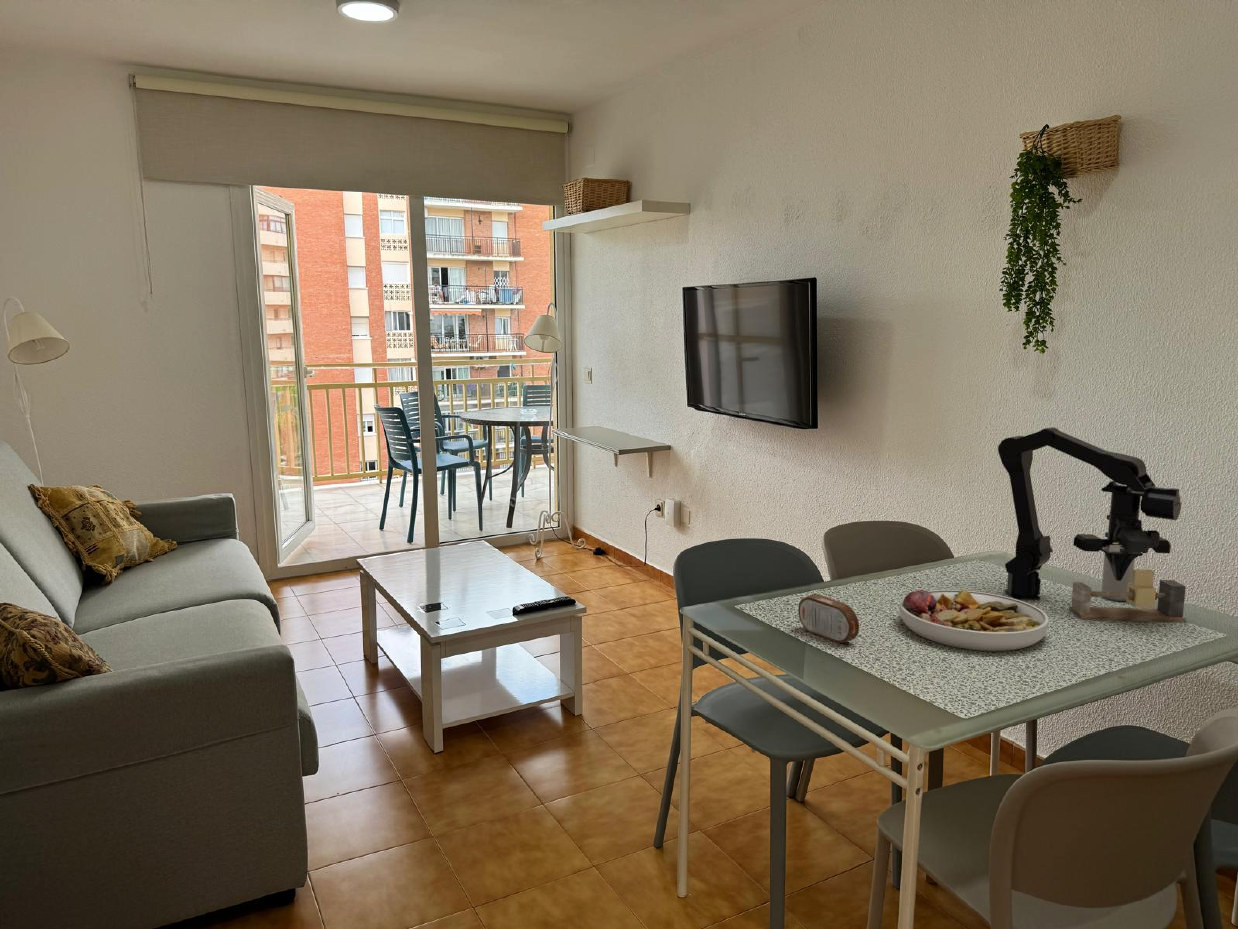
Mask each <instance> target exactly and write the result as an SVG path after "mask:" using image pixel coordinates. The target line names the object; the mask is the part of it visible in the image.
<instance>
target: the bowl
mask: <svg viewBox="0 0 1238 929" xmlns="http://www.w3.org/2000/svg"><path fill="white" fill-rule="evenodd" d="M899 601H900V602H899V614H900V617H901V619H902V621H903V623H904V624H905V625H906V627H908V629H910V630H911V631H912V632H913V633H915V634H916V635H919V636H920V637H921V638H924V639H927V640H929V641H933V642H934V643H938V644H940V645H945V646H949V647H953V648H959V649H964V650H965V649H966V650H972V651H973V650H974V651H985V652H1005V651H1006V652H1007V651H1013V650H1015V651H1016V650H1019V649H1024V648H1027V647H1030V646H1033V645H1035V644H1036V643H1038V642H1040V640H1042V639H1043V638H1044V636H1045V635H1046V634H1047V631H1048V629H1049V623H1050V618H1049V616H1048V614H1047V613H1046V612H1045V611H1044V610H1042V609H1041V608H1038V607H1037V606H1035V605H1033V604H1030V603H1028V602H1026V601H1023V600H1021V599H1014V598H1012V597H1010V596H1009V597H1008V596H1005V595H1001V594H995V593H989V592H983V591H974V590H973V591H972V590H965V589H935V590H934V589H932V590H926V589H925V590H924V589H918V590H916V591H910V592H909V593H907V594H906V595H905V596H904V597H903V598H902V599H901V600H899Z"/></svg>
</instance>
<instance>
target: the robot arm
mask: <svg viewBox="0 0 1238 929" xmlns="http://www.w3.org/2000/svg"><path fill="white" fill-rule="evenodd" d="M1044 447H1049V448H1052V449H1055V450H1056V451H1059V452H1061V453H1064V454H1066V455H1068V456H1070V457H1073V458H1075V459H1077V460H1078V461H1079V460H1080V461H1082V462H1083V463H1086V464H1089V465H1091V466H1092V467H1094V468H1096V469H1097V470H1099V472H1101V473H1102V474H1103V475H1104V476H1105V477H1107V478H1108V479H1110V480H1111V481H1109V482H1108V483H1107V485H1104V486H1103V487H1101V492H1103V493H1104V492H1105V493H1111V495H1110V496H1111V497H1110V508H1109V514H1107V515H1106V520H1108V528H1107V531H1106V532H1105V533H1104V537H1105V538H1101V537H1099V536H1096V535H1095V534H1091V533H1084V534H1083V533H1077V534H1076V535H1075V536H1074V538H1073V544H1072V545H1073V546H1074V547H1076V548H1078V549H1079V550H1081V551H1083V552H1092V553H1093V552H1095V553H1096V552H1097V553H1098V552H1100V551H1101V552H1103V553H1104V554H1105V555H1106V557H1107V559H1108V561H1109V564H1110V566H1111V569H1112V572H1113V575H1114V577H1115V580H1117V581H1121V580H1122V578H1123V576H1124V574H1125V572H1126V570H1127V569H1128V567H1129V565H1130V564H1131V562H1132V561H1133V560H1134V561H1135V559H1136V558H1138V557H1142V556H1143V555H1144V554H1147V553H1148V552H1149V550H1150V549H1152V551H1154V553H1156V554H1171V551H1172V545H1171V542H1170V541H1169V540H1168V539H1166V538H1163V537H1162V536H1160V534H1161V533H1160V532H1159V531H1158V530H1155V529H1154V530H1152V529H1151V530H1150V529H1149V530H1143V527H1142V526H1143V523H1142V520H1141V519H1140V511H1141V512H1142V514H1144V515H1145V516H1146V517H1149V518H1156V519H1163V520H1170V521H1177V520H1178V519H1179V518H1180V514H1181V508H1182V502H1181V496H1180V489H1179V488H1174V487H1173V488H1168V487H1167V488H1166V487H1165V488H1164V487H1157V486H1156V484H1155V482H1154V481H1153V480H1152V479H1151V476H1149V474H1148V472H1147V467H1146V464H1145V461H1144V460H1142V459H1141V458H1139V457H1137V456H1133V455H1128V454H1125V453H1124V454H1123V453H1118V452H1114V451H1113V452H1112V451H1108V450H1105V449H1103V448H1100V447H1098V446H1095V445H1093V444H1091V443H1089V442H1086V441H1085V440H1082V439H1080V438H1077V437H1075V436H1073V435H1071V434H1068V433H1065V432H1064V431H1061V430H1059V428H1056V427H1045V428H1043V429H1040V430H1039V431H1036V432H1034V433H1030V434H1027V435H1024V436H1023V435H1016V436H1011V437H1007V438H1004V439H1003V440H1001V441H1000V443H999V444H998V446H997V451H998V455H999V458H1000V461H1001V464H1002V466H1003V467H1004V469H1005V470H1006V472H1007V473H1008V476H1009V481H1010V487H1011V493H1012V498H1013V499H1012V500H1013V504H1014V505H1013V506H1014V512H1015V517H1016V522H1017V523H1016V524H1017V530H1018V534H1017V536H1016V537H1017V539H1016V543H1015V556H1014V557H1013V558H1012V559H1010V560H1009V561H1007V562H1006V563H1005V564H1004V566H1005V571H1006V573H1007V581H1006V582H1007V584H1006V588H1004V591H1003V592H1005V593H1006V594H1007V595H1008V596H1009V598H1013V599H1017V600H1041V597H1040V595H1041V581H1042V580H1041V578H1040V572H1038V571H1040V570H1041V568H1042V567H1043V565H1045V564H1046V563H1048V562H1049V560H1050V559H1051V553H1053V552H1054V550H1053V548H1052V547H1051V535H1045V536H1044V535H1043V533H1042V531H1041V530H1040V524H1039V520H1038V519H1039V518H1038V513H1037V508H1036V502H1035V495H1034V489H1033V482H1032V476H1031V467H1032V465H1033V464H1032V463H1033V458H1034V457H1033V454H1034V453H1033V452H1034V451H1036V450H1039V449H1042V448H1044Z"/></svg>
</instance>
